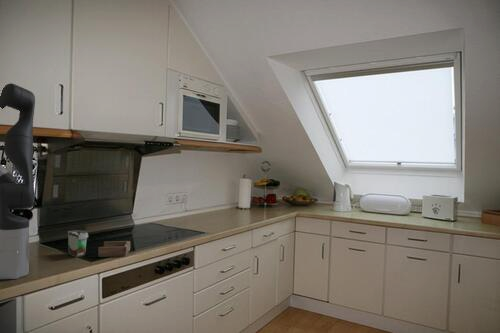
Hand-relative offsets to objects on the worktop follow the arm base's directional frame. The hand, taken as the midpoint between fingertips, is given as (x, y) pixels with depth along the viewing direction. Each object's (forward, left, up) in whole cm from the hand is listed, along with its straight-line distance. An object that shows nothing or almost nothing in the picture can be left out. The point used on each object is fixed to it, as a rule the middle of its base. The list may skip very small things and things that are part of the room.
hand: (31, 205), depth 149 cm
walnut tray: (+2, -34, -22) cm, 41 cm away
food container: (+2, -19, -22) cm, 30 cm away
